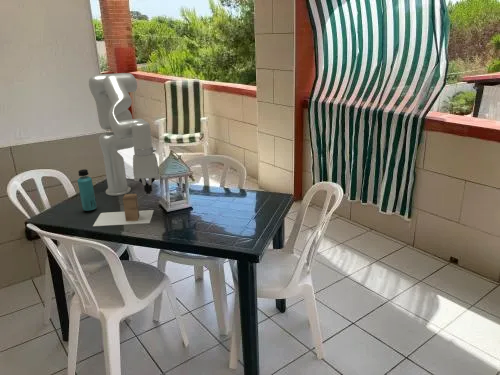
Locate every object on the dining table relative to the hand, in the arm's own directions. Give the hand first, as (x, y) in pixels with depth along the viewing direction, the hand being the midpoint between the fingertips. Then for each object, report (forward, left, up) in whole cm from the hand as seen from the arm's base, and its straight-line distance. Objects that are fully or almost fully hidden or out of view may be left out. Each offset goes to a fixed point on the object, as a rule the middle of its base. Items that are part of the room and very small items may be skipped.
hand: (148, 192), depth 174 cm
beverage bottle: (-13, -30, -13) cm, 36 cm away
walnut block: (0, -8, -12) cm, 15 cm away
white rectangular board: (-2, -12, -13) cm, 18 cm away
